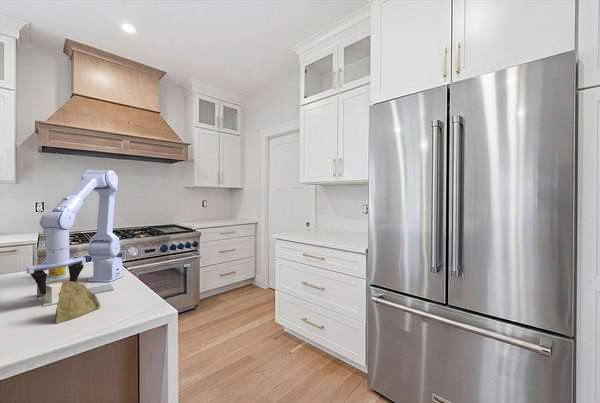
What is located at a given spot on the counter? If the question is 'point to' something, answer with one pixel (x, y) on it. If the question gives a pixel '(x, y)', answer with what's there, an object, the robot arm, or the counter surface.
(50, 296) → the lettered cube
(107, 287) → the grey mat
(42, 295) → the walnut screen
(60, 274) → the supplement bottle
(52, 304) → the green mat
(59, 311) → the rock
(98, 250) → the robot arm
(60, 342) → the counter surface
